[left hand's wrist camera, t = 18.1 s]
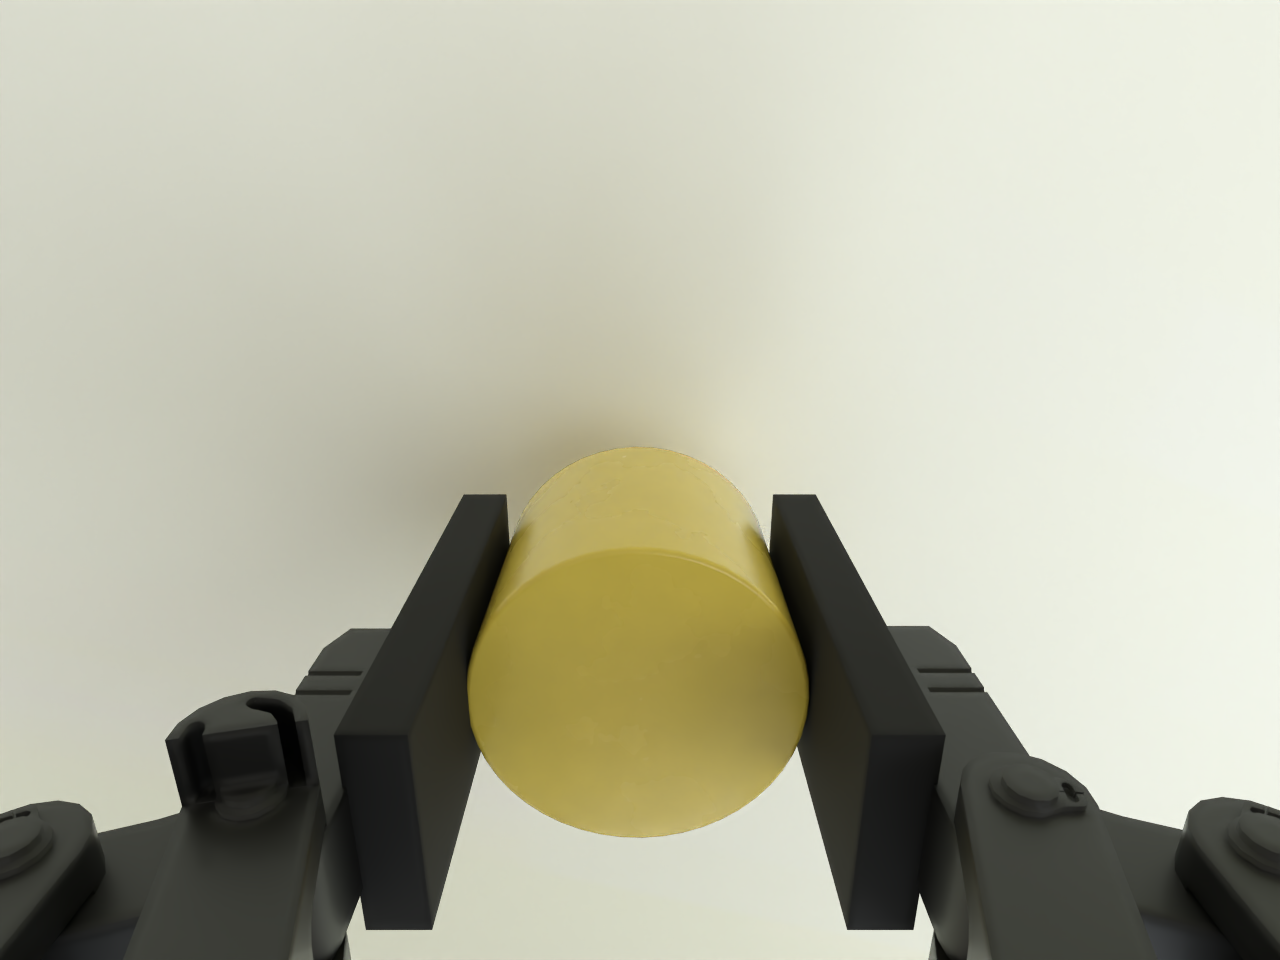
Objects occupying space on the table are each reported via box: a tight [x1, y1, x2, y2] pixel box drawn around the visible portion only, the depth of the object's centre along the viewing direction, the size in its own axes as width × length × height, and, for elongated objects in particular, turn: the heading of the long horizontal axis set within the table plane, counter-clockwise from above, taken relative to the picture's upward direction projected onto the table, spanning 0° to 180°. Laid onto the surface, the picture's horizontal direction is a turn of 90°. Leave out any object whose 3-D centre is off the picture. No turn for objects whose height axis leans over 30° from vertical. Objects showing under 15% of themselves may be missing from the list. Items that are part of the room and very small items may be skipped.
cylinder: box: [467, 447, 810, 838], centre depth 13 cm, size 5×5×4 cm
